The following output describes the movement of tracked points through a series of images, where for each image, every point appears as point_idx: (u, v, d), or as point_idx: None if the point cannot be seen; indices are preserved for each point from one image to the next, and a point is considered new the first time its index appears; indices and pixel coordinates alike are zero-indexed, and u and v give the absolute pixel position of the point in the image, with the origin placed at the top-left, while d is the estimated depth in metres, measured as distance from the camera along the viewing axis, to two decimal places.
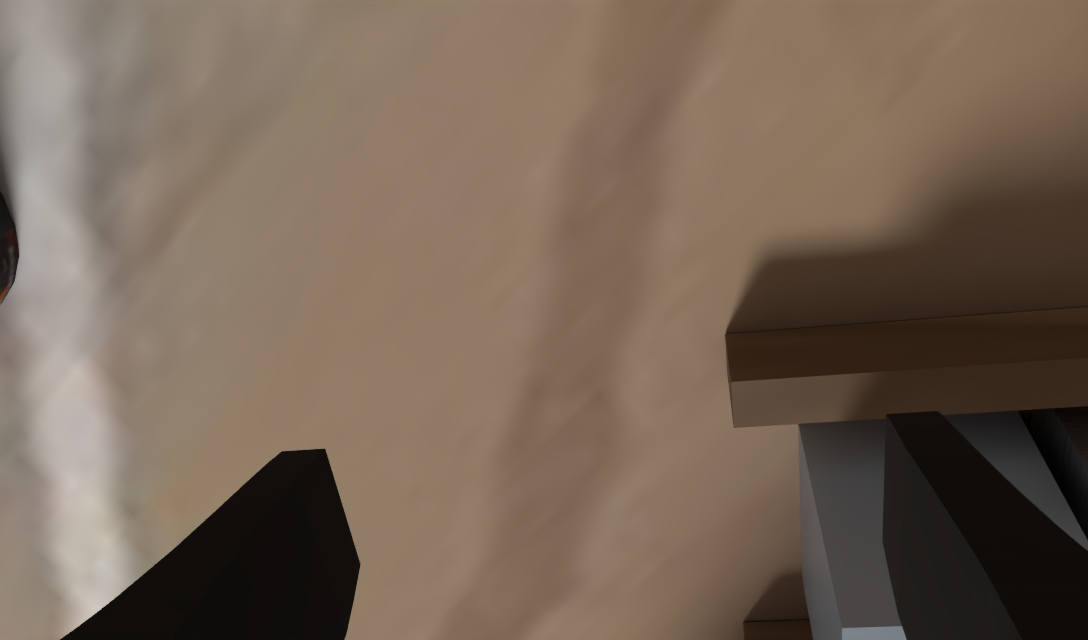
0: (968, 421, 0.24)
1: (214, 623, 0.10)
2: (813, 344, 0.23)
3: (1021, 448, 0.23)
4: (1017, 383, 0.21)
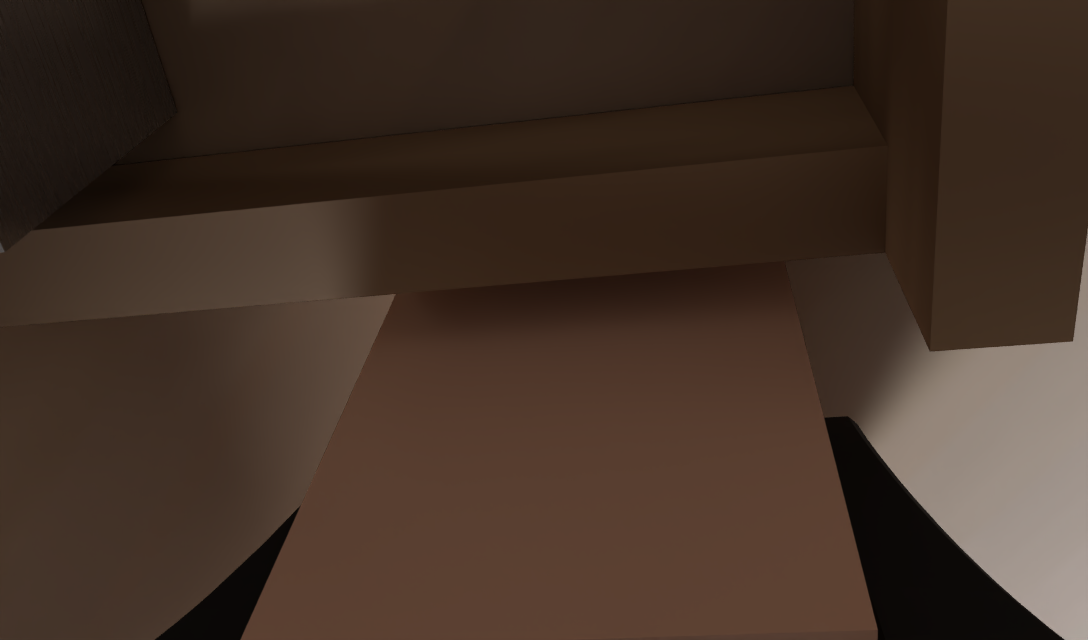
0: None
1: None
2: None
3: None
4: None
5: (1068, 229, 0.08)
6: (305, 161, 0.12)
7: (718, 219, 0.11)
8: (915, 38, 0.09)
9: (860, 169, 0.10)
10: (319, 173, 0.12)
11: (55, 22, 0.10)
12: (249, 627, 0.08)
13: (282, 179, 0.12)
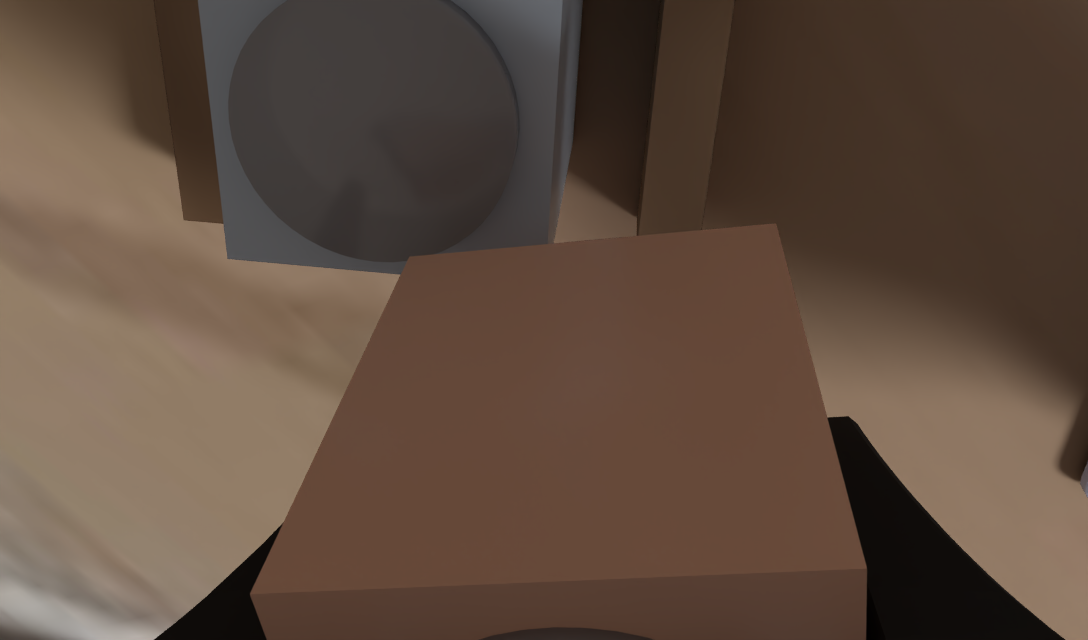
0: None
1: None
2: None
3: None
4: None
5: None
6: None
7: None
8: None
9: None
10: None
11: None
12: (262, 573, 0.09)
13: None
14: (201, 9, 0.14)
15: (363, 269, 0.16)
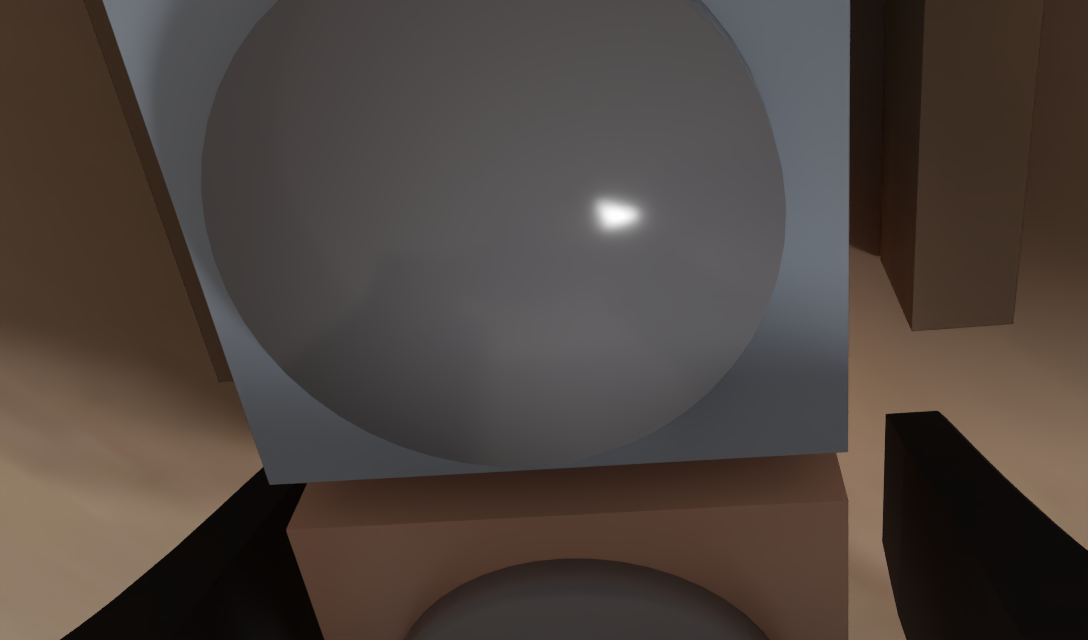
0: None
1: (214, 623, 0.10)
2: None
3: None
4: None
5: None
6: None
7: None
8: None
9: None
10: None
11: None
12: (296, 512, 0.10)
13: None
14: (128, 57, 0.07)
15: (506, 468, 0.09)
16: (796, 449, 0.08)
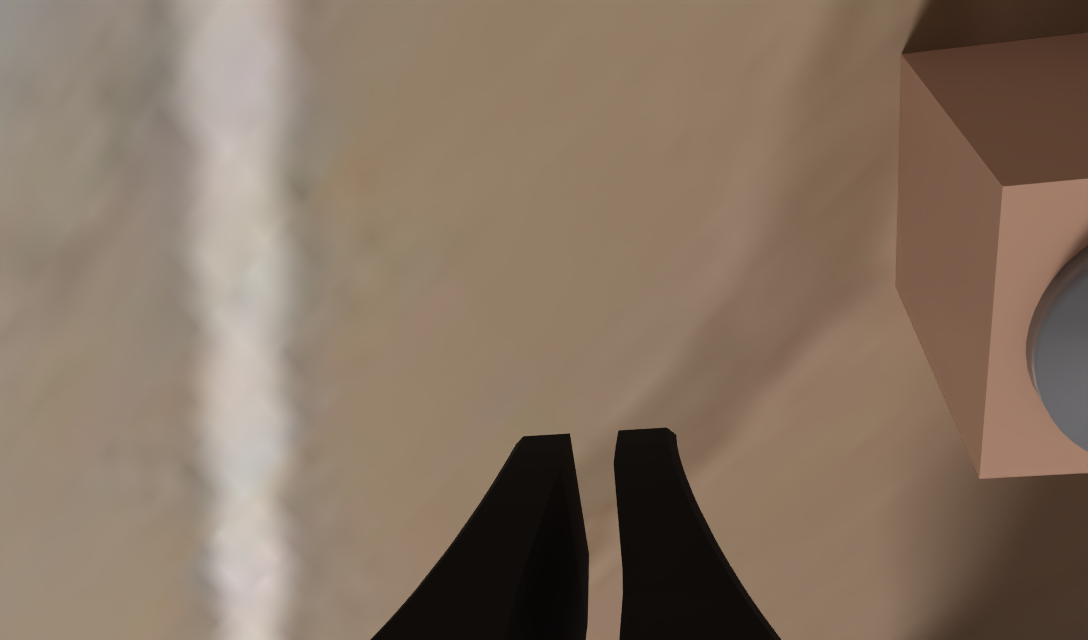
0: None
1: (524, 612, 0.10)
2: None
3: None
4: None
5: None
6: None
7: None
8: None
9: None
10: None
11: None
12: None
13: None
14: None
15: None
16: None
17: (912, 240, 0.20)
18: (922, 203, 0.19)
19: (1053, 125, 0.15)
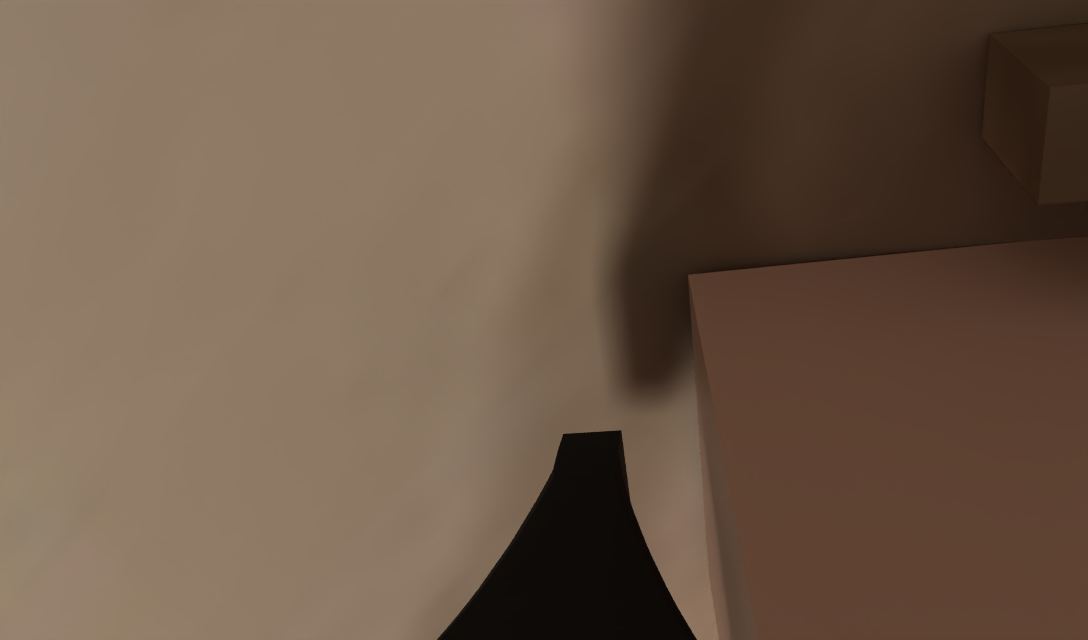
0: None
1: None
2: None
3: None
4: None
5: None
6: None
7: None
8: None
9: None
10: None
11: None
12: None
13: None
14: None
15: None
16: None
17: (713, 548, 0.13)
18: (714, 518, 0.12)
19: (881, 491, 0.09)
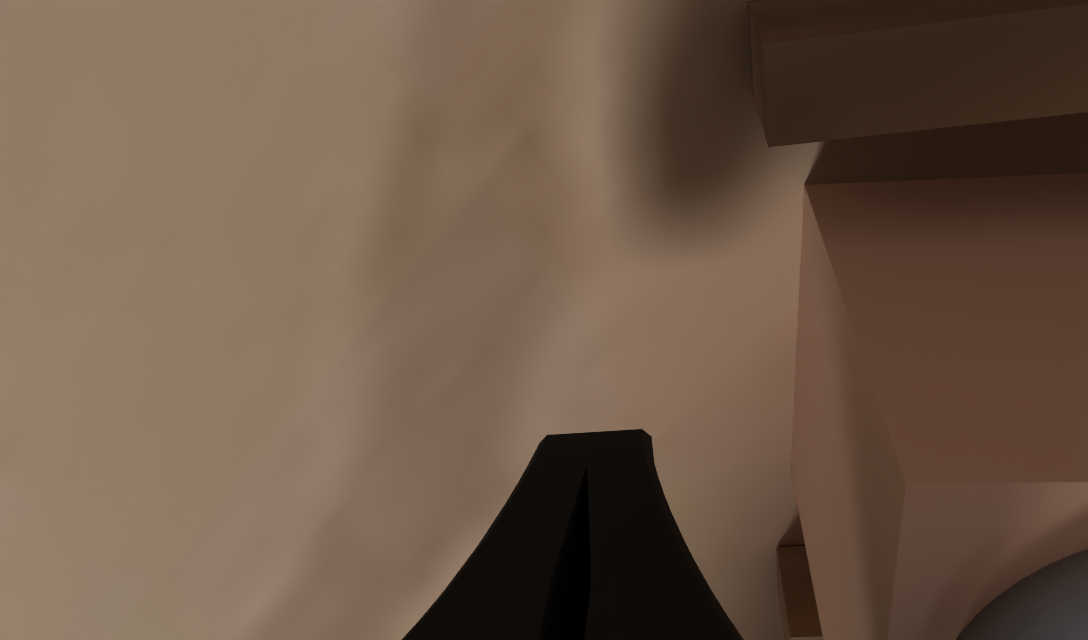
0: None
1: (556, 611, 0.10)
2: None
3: None
4: None
5: None
6: None
7: None
8: None
9: None
10: None
11: None
12: None
13: None
14: None
15: None
16: None
17: (807, 435, 0.14)
18: (818, 400, 0.13)
19: (996, 352, 0.10)
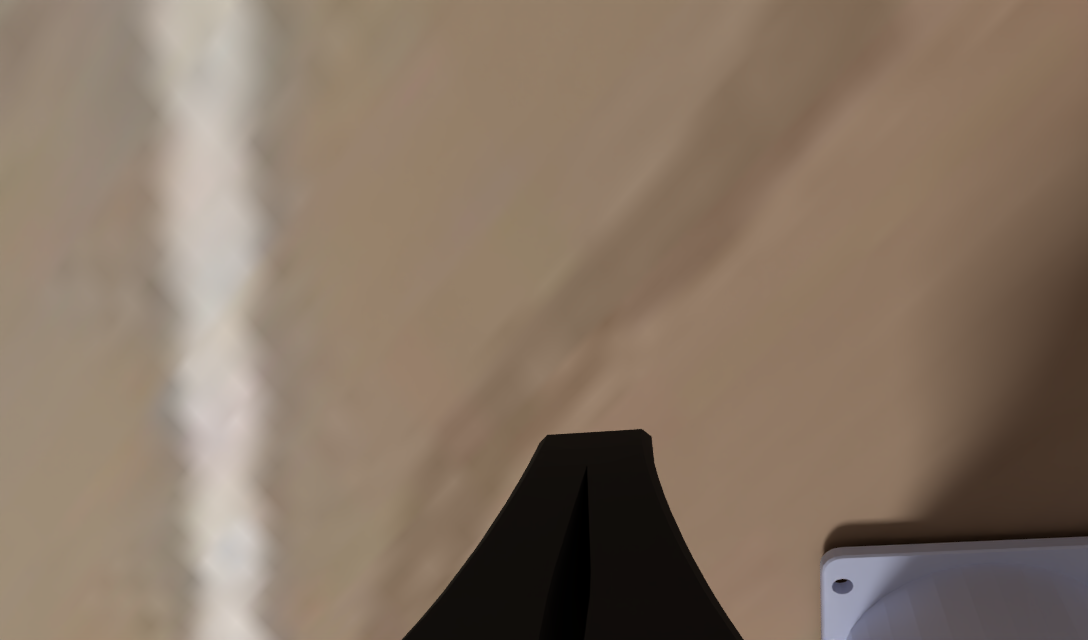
0: None
1: (556, 610, 0.10)
2: None
3: None
4: None
5: None
6: None
7: None
8: None
9: None
10: None
11: None
12: None
13: None
14: None
15: None
16: None
17: None
18: None
19: None
